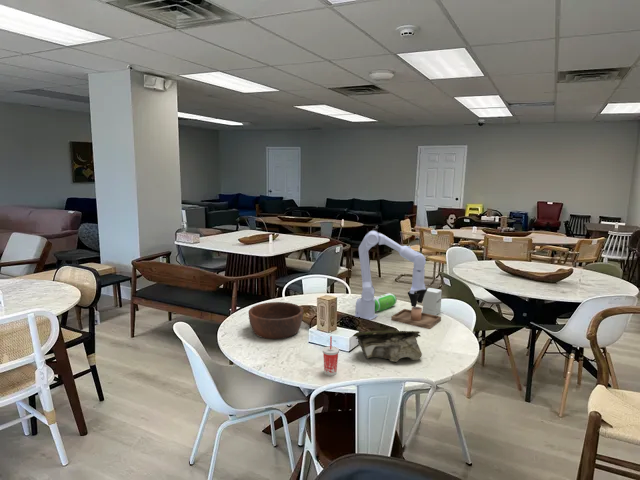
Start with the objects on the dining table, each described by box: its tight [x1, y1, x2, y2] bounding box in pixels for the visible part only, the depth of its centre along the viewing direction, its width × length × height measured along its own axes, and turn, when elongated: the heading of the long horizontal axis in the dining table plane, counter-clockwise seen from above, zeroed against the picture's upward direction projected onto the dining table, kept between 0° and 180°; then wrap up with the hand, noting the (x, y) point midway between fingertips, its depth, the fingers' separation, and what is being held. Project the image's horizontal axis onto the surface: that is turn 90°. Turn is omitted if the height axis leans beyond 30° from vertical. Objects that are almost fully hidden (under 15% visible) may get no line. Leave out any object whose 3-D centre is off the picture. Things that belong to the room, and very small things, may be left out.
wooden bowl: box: [248, 301, 304, 340], centre depth 193 cm, size 25×25×10 cm
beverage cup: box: [322, 335, 340, 376], centre depth 153 cm, size 6×6×14 cm
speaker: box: [374, 292, 398, 313], centre depth 226 cm, size 18×7×8 cm, turn 134°
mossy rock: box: [352, 330, 423, 362], centre depth 165 cm, size 28×13×15 cm
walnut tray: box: [391, 308, 442, 330], centre depth 209 cm, size 20×15×2 cm
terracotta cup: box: [410, 306, 423, 320], centre depth 209 cm, size 5×5×6 cm
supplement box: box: [422, 287, 443, 316], centre depth 220 cm, size 7×7×13 cm
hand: (416, 304), depth 208 cm, fingers open, 7 cm apart
